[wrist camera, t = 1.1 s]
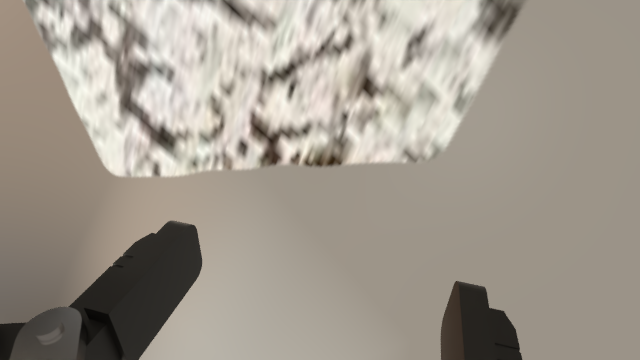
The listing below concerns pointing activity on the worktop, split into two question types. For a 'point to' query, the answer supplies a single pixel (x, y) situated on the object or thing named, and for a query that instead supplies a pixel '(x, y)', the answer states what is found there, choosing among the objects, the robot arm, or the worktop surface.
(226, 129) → the worktop surface
